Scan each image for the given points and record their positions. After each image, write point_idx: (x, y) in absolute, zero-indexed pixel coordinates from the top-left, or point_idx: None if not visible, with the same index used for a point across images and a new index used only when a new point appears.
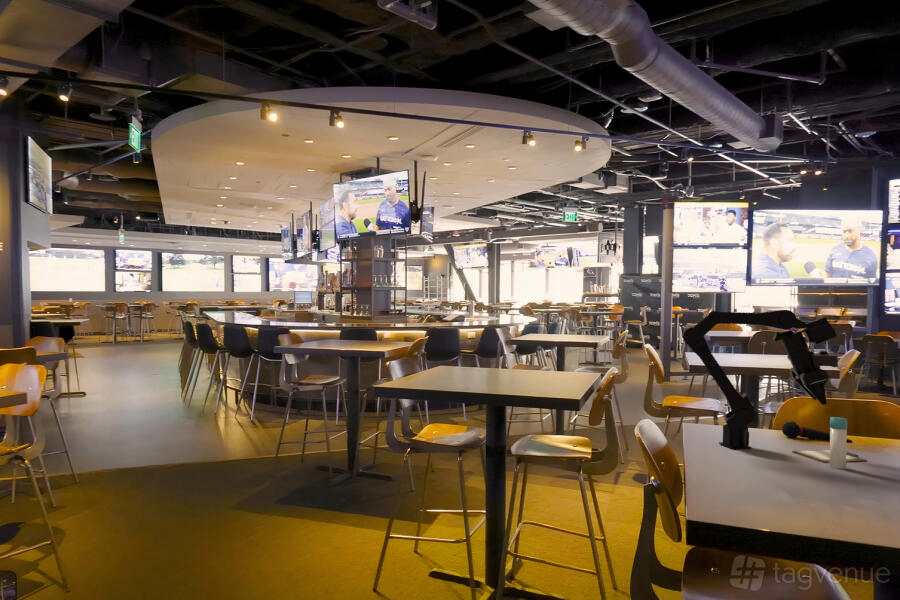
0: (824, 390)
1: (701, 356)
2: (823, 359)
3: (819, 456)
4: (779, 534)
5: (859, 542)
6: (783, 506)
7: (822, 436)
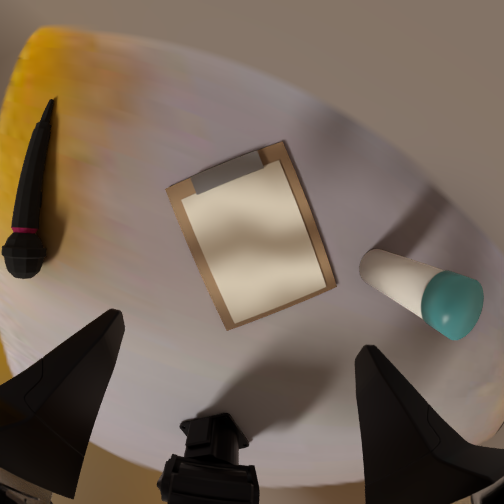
0: (438, 417)
1: None
2: None
3: (291, 280)
4: None
5: None
6: (500, 389)
7: (40, 172)
